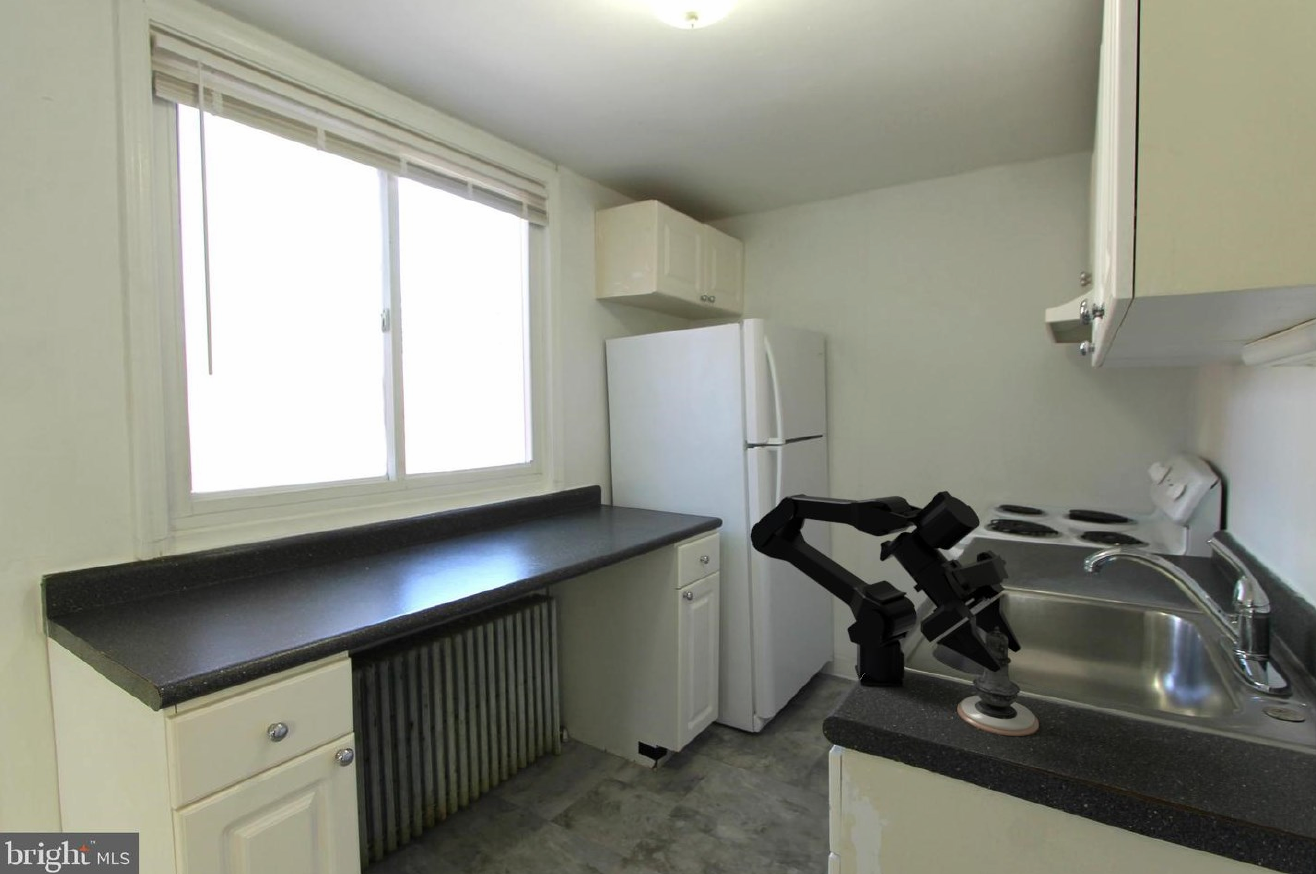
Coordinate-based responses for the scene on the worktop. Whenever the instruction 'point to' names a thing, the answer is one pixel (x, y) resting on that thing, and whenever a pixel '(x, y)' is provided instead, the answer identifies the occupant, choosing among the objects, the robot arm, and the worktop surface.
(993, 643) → the dark chess piece
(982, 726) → the coaster
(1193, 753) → the worktop surface
